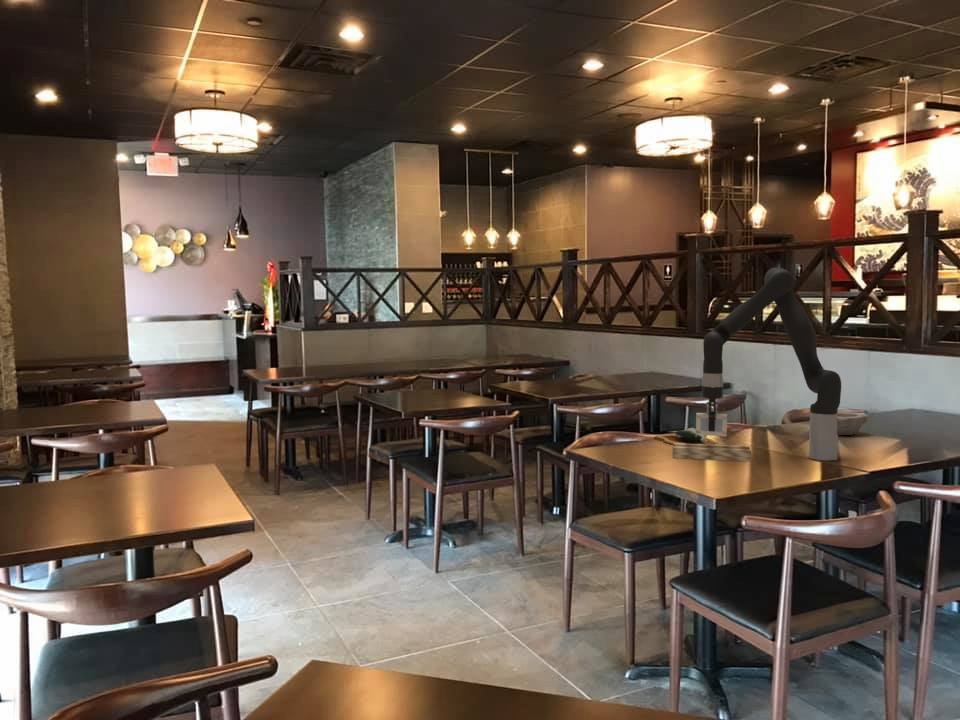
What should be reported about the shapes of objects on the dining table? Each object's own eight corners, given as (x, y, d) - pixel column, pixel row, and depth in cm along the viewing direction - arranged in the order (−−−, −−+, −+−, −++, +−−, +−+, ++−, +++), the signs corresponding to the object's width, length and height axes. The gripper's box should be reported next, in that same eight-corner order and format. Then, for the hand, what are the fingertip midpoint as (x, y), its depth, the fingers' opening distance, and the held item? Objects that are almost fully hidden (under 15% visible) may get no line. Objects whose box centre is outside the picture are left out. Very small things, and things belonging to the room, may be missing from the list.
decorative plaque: (733, 431, 300) (691, 435, 293) (732, 449, 301) (691, 453, 294) (686, 420, 329) (647, 423, 322) (686, 436, 329) (647, 440, 322)
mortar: (813, 432, 334) (813, 412, 334) (842, 430, 340) (843, 410, 339) (842, 439, 318) (842, 417, 318) (873, 436, 324) (873, 415, 323)
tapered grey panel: (726, 434, 283) (726, 413, 282) (726, 436, 280) (727, 415, 279) (695, 433, 286) (696, 412, 285) (696, 434, 283) (696, 413, 282)
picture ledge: (749, 456, 284) (749, 446, 284) (751, 461, 275) (751, 450, 275) (673, 453, 292) (673, 443, 292) (672, 458, 283) (672, 447, 282)
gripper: (701, 382, 289) (700, 427, 290) (702, 386, 276) (701, 433, 277) (721, 383, 287) (720, 427, 289) (723, 387, 274) (722, 434, 275)
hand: (711, 430), depth 283 cm, fingers closed on tapered grey panel, 2 cm apart
